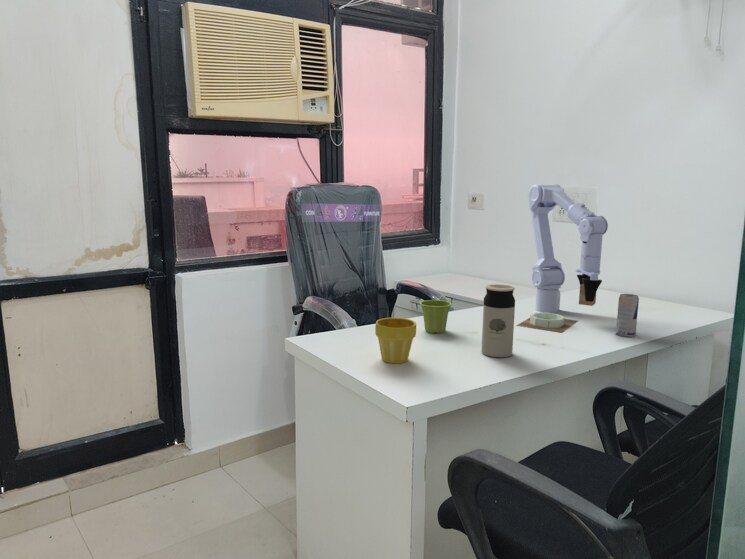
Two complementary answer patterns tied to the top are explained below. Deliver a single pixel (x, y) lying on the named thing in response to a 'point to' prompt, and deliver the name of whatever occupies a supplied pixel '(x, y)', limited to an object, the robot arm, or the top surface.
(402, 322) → the plant pot
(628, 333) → the energy drink
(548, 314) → the octagonal green bowl
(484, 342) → the travel mug
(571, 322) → the walnut board
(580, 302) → the brown wooden block
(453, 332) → the top surface
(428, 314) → the plant pot
